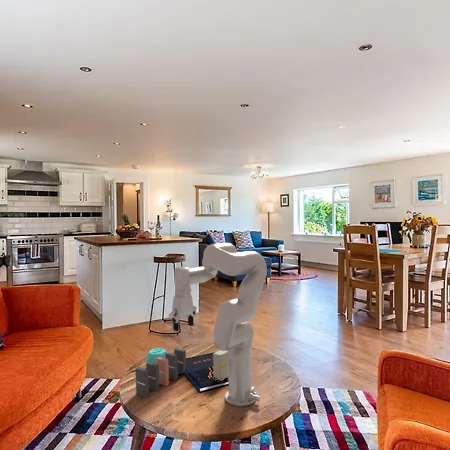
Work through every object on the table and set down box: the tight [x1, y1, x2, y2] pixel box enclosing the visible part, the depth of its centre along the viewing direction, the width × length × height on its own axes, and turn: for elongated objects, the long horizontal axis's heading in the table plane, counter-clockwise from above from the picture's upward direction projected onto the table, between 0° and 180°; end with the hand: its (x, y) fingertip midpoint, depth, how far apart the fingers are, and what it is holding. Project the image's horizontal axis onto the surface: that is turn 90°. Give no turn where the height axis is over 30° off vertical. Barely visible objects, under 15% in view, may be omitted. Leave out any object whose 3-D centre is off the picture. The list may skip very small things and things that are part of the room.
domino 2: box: [145, 362, 160, 392], centre depth 148 cm, size 2×6×11 cm, turn 57°
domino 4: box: [165, 351, 179, 381], centre depth 158 cm, size 2×6×11 cm, turn 57°
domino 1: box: [135, 366, 150, 399], centre depth 143 cm, size 2×6×11 cm, turn 57°
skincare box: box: [212, 349, 229, 382], centre depth 156 cm, size 6×4×12 cm
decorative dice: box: [145, 347, 168, 364], centre depth 170 cm, size 8×8×8 cm
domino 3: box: [156, 357, 170, 387], centre depth 153 cm, size 2×6×11 cm, turn 57°
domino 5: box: [173, 347, 187, 375], centre depth 163 cm, size 2×6×11 cm, turn 57°
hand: (183, 327), depth 165 cm, fingers open, 9 cm apart
